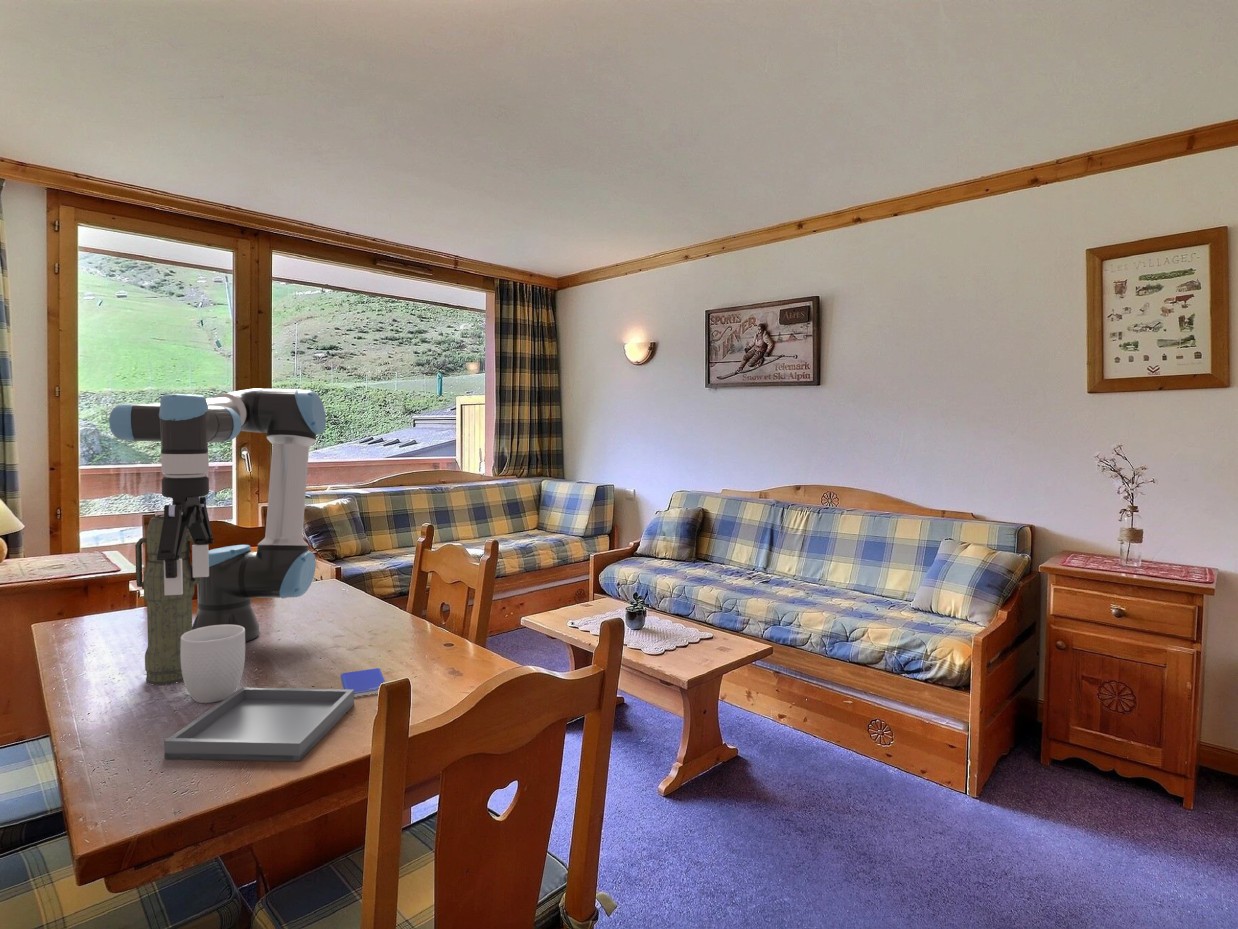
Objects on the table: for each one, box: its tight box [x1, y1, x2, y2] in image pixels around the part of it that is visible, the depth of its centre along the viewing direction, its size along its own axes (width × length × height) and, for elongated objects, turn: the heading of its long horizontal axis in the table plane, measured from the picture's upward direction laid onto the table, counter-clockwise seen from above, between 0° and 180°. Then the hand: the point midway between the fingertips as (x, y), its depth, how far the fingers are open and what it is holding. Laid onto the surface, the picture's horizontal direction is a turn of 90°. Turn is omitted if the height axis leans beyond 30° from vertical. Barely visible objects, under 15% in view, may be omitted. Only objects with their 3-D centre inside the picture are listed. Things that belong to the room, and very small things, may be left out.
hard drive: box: [340, 667, 386, 698], centre depth 138 cm, size 2×8×12 cm
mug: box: [180, 625, 246, 704], centre depth 131 cm, size 15×11×13 cm
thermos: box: [134, 513, 202, 686], centre depth 139 cm, size 9×12×35 cm
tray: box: [163, 687, 355, 762], centre depth 117 cm, size 22×22×3 cm
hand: (188, 585), depth 126 cm, fingers open, 13 cm apart
